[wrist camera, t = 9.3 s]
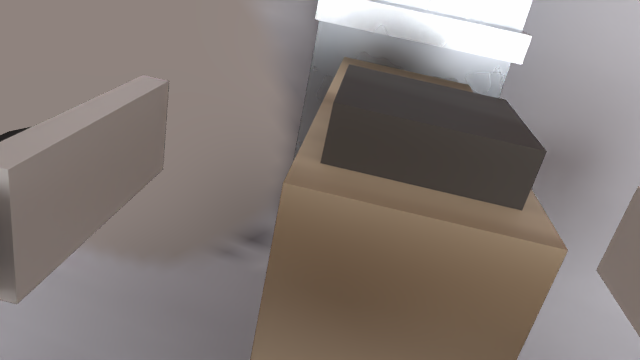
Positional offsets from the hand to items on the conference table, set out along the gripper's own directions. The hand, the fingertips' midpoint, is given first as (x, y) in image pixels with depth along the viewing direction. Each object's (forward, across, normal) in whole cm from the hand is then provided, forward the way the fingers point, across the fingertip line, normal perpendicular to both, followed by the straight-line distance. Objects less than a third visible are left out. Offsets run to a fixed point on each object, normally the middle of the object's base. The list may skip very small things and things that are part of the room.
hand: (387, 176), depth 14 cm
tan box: (+3, 0, 0) cm, 3 cm away
